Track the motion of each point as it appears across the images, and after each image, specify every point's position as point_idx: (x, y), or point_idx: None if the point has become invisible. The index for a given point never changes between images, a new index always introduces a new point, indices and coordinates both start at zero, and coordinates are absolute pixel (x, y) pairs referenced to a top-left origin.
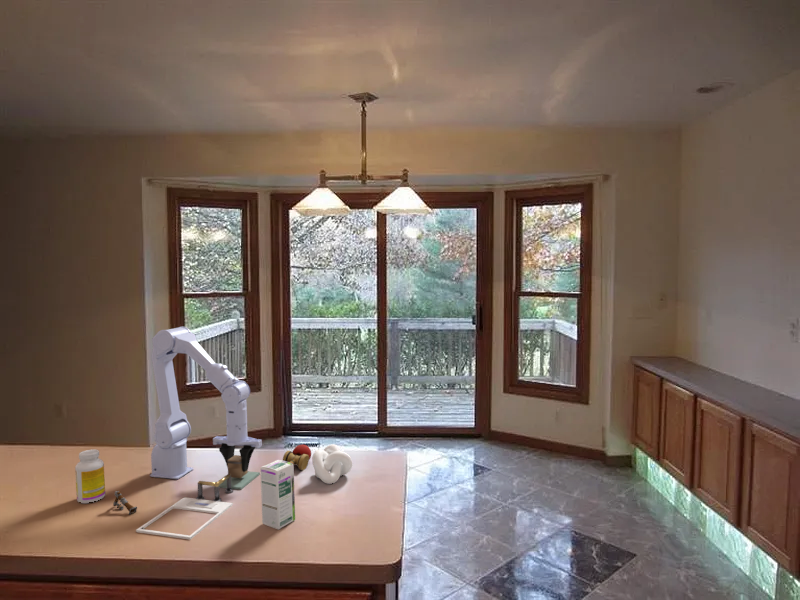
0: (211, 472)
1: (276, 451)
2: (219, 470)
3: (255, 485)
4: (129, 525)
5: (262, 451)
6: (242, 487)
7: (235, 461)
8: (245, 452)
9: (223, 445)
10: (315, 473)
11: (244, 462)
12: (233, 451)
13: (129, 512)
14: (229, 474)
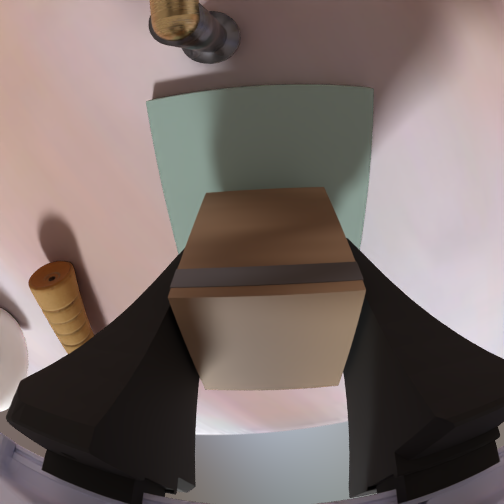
0: (458, 271)
1: (274, 427)
2: (429, 297)
3: (114, 188)
4: None
5: (318, 421)
6: (152, 119)
7: (240, 288)
8: (26, 389)
9: (474, 456)
10: (1, 320)
11: (138, 298)
12: (352, 415)
13: None
14: (154, 15)
